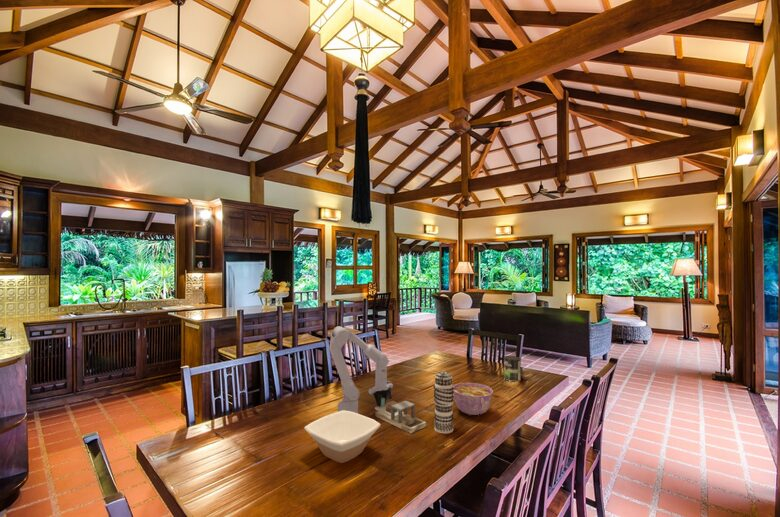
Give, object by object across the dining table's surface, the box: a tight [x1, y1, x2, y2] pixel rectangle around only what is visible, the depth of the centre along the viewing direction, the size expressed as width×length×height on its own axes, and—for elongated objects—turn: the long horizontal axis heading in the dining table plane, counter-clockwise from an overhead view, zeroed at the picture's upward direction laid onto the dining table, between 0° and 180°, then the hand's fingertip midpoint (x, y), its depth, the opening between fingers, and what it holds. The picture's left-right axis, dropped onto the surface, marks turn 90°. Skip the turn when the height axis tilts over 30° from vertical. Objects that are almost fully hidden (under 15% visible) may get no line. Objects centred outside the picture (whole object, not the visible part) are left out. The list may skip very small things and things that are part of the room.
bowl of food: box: [452, 382, 494, 416], centre depth 177 cm, size 20×20×12 cm
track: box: [375, 400, 427, 434], centre depth 166 cm, size 10×24×8 cm, turn 42°
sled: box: [374, 397, 404, 417], centre depth 172 cm, size 6×14×5 cm, turn 42°
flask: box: [387, 379, 392, 399], centre depth 198 cm, size 9×3×11 cm, turn 65°
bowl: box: [304, 410, 381, 464], centre depth 139 cm, size 24×25×11 cm
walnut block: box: [385, 400, 398, 413], centre depth 171 cm, size 4×4×4 cm
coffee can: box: [503, 355, 521, 382], centre depth 229 cm, size 10×10×14 cm
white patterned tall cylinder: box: [433, 371, 455, 435], centre depth 159 cm, size 9×9×25 cm
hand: (381, 405), depth 177 cm, fingers closed on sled, 2 cm apart
